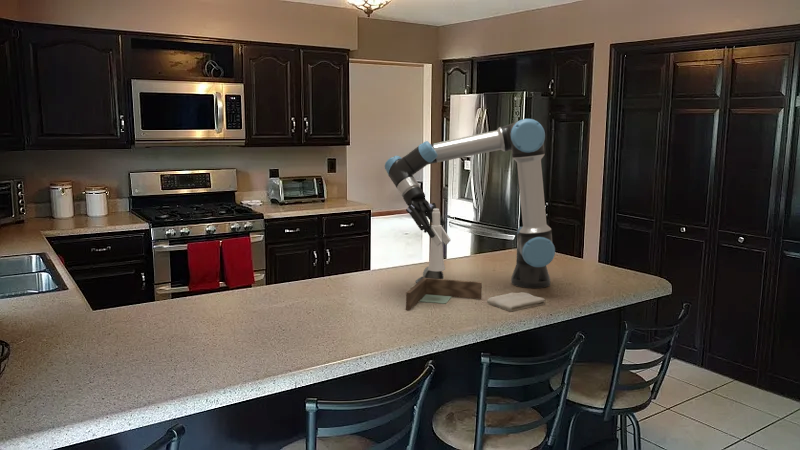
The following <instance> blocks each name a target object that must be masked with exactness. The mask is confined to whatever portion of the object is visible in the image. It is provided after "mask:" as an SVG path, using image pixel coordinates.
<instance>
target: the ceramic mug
mask: <svg viewBox="0 0 800 450" xmlns="http://www.w3.org/2000/svg"><path fill="white" fill-rule="evenodd" d="M428 267H429V265H428V266H426V267H425V268H424V270H423V272H422V276H421V277H418V278H417V279H416V280H415V284H417V283H418V282H419V281H420V280H421V279H422V278H434V279H444V276H445V275H444V272H443V271H438V272H435V271H430V270H428Z"/></svg>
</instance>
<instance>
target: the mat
mask: <svg viewBox="0 0 800 450" xmlns="http://www.w3.org/2000/svg"><path fill="white" fill-rule="evenodd" d="M452 298H453V297H452V296H442V295H430V294H426V295H425V296H424V297H423V298H422V299H421V300H420V301H419V302H418V303H427V304H428V303H430V304H440V305H441V304H442V305H446V304H447V303H448V302H449V301H450V300H451V299H452Z"/></svg>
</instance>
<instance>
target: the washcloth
mask: <svg viewBox="0 0 800 450" xmlns="http://www.w3.org/2000/svg"><path fill="white" fill-rule="evenodd" d="M486 301H487V304H488V305H490V306H493V307H496V308H500V309H501V310H505V311H507V312H515V311H520V310H526V309H529V308H534V307H538V306H539V307H540V306H543V305H546V299H545V298H544V297H539V296H536V295H532V294H531V293H528V292H523V291H521V292H509V293H505V294H500V295H495V296H491V297H489V298H488V299H487V300H486Z"/></svg>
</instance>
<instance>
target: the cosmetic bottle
mask: <svg viewBox="0 0 800 450" xmlns="http://www.w3.org/2000/svg"><path fill="white" fill-rule="evenodd" d="M440 215H441V212H440V208H438V207H436V209H433V212H432V222H431V224H430V226H431V227H434V229H435V231H436V232H437V234H438V235H439V237H440V238H441V240H442V228H441V225H440ZM431 227H430V228H431ZM442 241H443V240H442ZM429 247H430V248H429V249H430V250H429V261H428V266H429V267H428V266H427V267H428V270H430V271H435V272H438V271H442V272H443V271H446V267H445V261H444V248H443V242H442V243H441V244H440V245H439V246H436V244H435V243H434V241H433V239H432V238H431V237H430V245H429Z"/></svg>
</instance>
